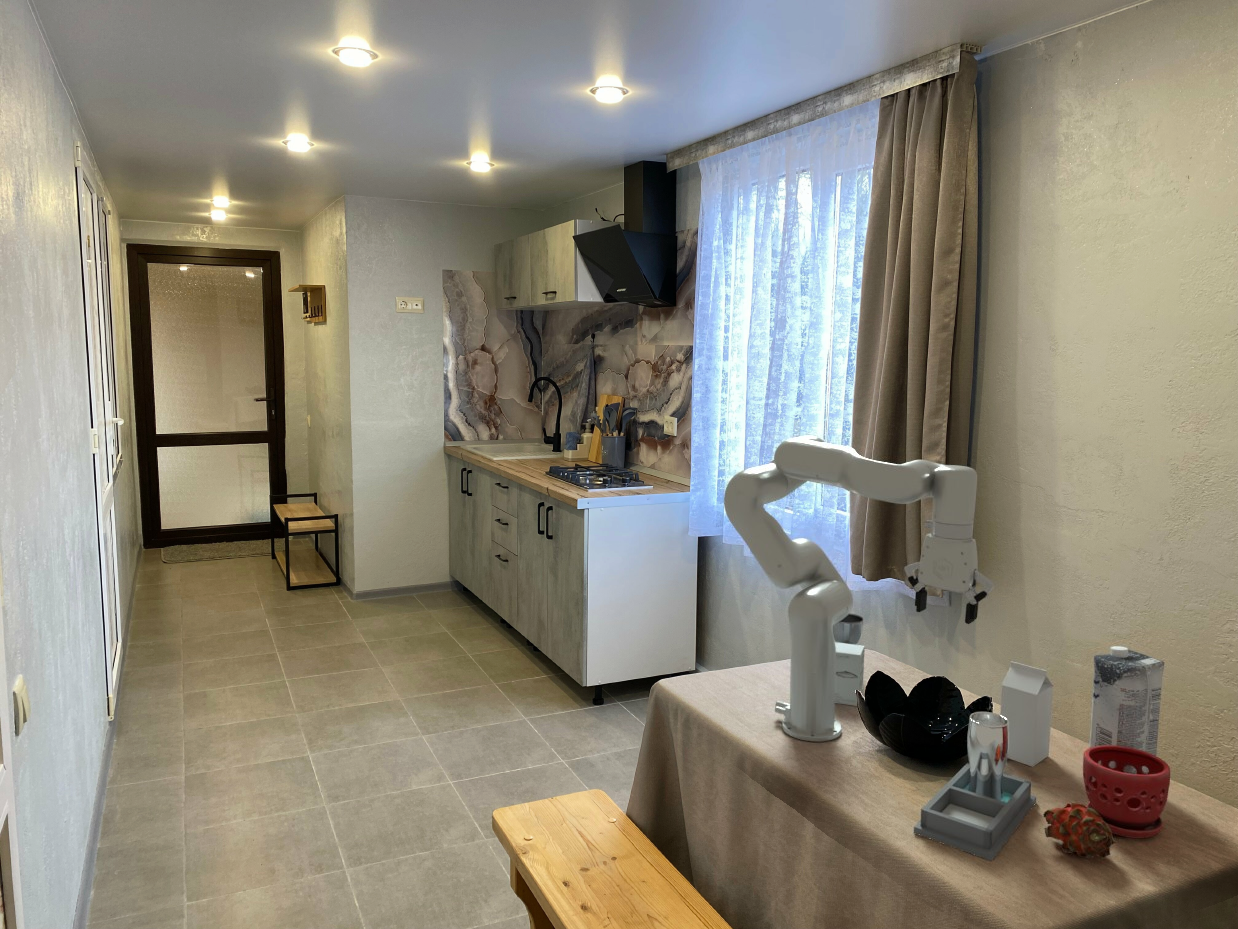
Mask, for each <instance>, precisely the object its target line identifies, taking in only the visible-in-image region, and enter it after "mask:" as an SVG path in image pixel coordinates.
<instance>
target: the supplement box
mask: <svg viewBox="0 0 1238 929" xmlns="http://www.w3.org/2000/svg"><path fill="white" fill-rule="evenodd" d="M835 645H836V681H835V704H838V705H839V704H841V705H848V706H854V707H857V700H856V693H855V690H859V691H861V693H863V692H864V688H863V687H864V673H865V672H864V670H865V653H866V652H865V649H866V646H865V645H863V644H862V645H860V644H856V645H853V644H845V643H837V642H835ZM863 694H864V693H863Z"/></svg>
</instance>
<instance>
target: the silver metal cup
mask: <svg viewBox="0 0 1238 929" xmlns="http://www.w3.org/2000/svg"><path fill="white" fill-rule="evenodd" d="M966 742H967V744H966V745H967V755H968V756H967V757H968V761H969V762H968V764H970V772H971V778H970V784H969V788H968V791H970V792H973V793H977V794H980V795H983V796H986V797H989V798H993V799H996V800H999V801H1002V802H1003V801H1004V797H1003V791H1002V779H1003V774H1005V769H1006V765H1007V762H1008V759H1009V758H1008V753H1009V720H1008V719H1007V718H1005V717H1004V716H1002V715H1000V713H995V712H989V711H975V712H973V713H971V714H970V715H969V721H968V730H967V740H966Z"/></svg>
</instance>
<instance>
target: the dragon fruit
mask: <svg viewBox="0 0 1238 929" xmlns="http://www.w3.org/2000/svg"><path fill="white" fill-rule="evenodd" d="M1042 814H1043V818H1045V822H1046V823H1047V825H1048V826H1046V827H1044V834H1045V837H1046V838H1052V839H1056V840H1058V841H1059V840H1060V841H1061V842H1062V843H1061V849H1062V851H1063V852H1065V853H1066V854H1069V853H1070V854H1072V853H1073V852H1076V853H1077V855H1078V856H1079V857H1082V858H1085V859H1092V858H1093V857H1094V856H1097V857H1100V858H1105V857H1106V858H1107V857H1109V856H1111V851H1110V850H1111V849H1110V848H1111V846H1112V845H1114V844H1116V841H1115V840H1114V838H1113V837H1114V836H1113V833H1112V831H1111V829H1110V828H1109V826H1108V825H1107V824H1106V822H1105V821H1103V819H1102V817H1101V816H1100V815H1099V814H1098V813H1097V812H1096V811H1095V810H1094V809H1092V808H1087V805H1085V804H1082V803H1081V802H1080V803H1079V802H1074V801H1073V802H1070V803H1067V804H1066V805H1065V806H1064V807H1061V808H1060V807H1055V808H1052V809H1047V810H1045V811H1044V812H1043V813H1042Z"/></svg>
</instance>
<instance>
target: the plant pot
mask: <svg viewBox="0 0 1238 929" xmlns="http://www.w3.org/2000/svg"><path fill="white" fill-rule="evenodd" d="M1099 761H1101V764H1100V765H1099V764H1098V762H1099ZM1111 761H1114V762H1116V766H1115V767H1114V768H1111V767H1110V766H1109V763H1110V762H1111ZM1127 765H1131V766H1133V767H1134V768H1135V769H1136V771H1137V774H1129V773H1125V772H1124V767H1125V766H1127ZM1143 766H1145V767H1147V768H1148V770H1149V772H1148V773H1144V772H1143V770H1142V767H1143ZM1092 776H1093V777H1094V779H1093V780H1092ZM1082 778H1083V784H1084V791H1085V794H1086V797H1087V799H1088V801H1089V803H1087V805H1086V807H1087V808H1092V809H1094V810H1095V811H1096V812H1097V813H1098V814H1099V815H1100V816H1101V817H1102V819H1103V821H1105V822H1106V824H1107V825H1108V826H1109V828H1110V829H1111V831H1112V834H1115V835H1118V836H1121V837H1126V838H1133V839H1147V838H1150V837H1153V836H1155V835H1158V833H1160V832H1161V831H1162V830H1163V827H1164V822H1163V820H1162V818H1161V814H1162V813H1163V811H1164V809H1165V807H1166V804H1167V802H1168V796H1169V790H1170V784H1171V783H1170V782H1171V768H1170V766H1169V764H1168V763H1167V762H1166V761H1164V760H1163V759H1162V758H1160V757H1159V756H1157V755H1156V756H1155V755H1152V754H1150V753H1148V752H1145V751H1141V750H1138V749H1134V748H1129V747H1123V746H1114V745H1102V746H1095V747H1091V748H1089V747H1088V748H1087V749H1086V750H1085V751H1084V752H1083V758H1082Z"/></svg>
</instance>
